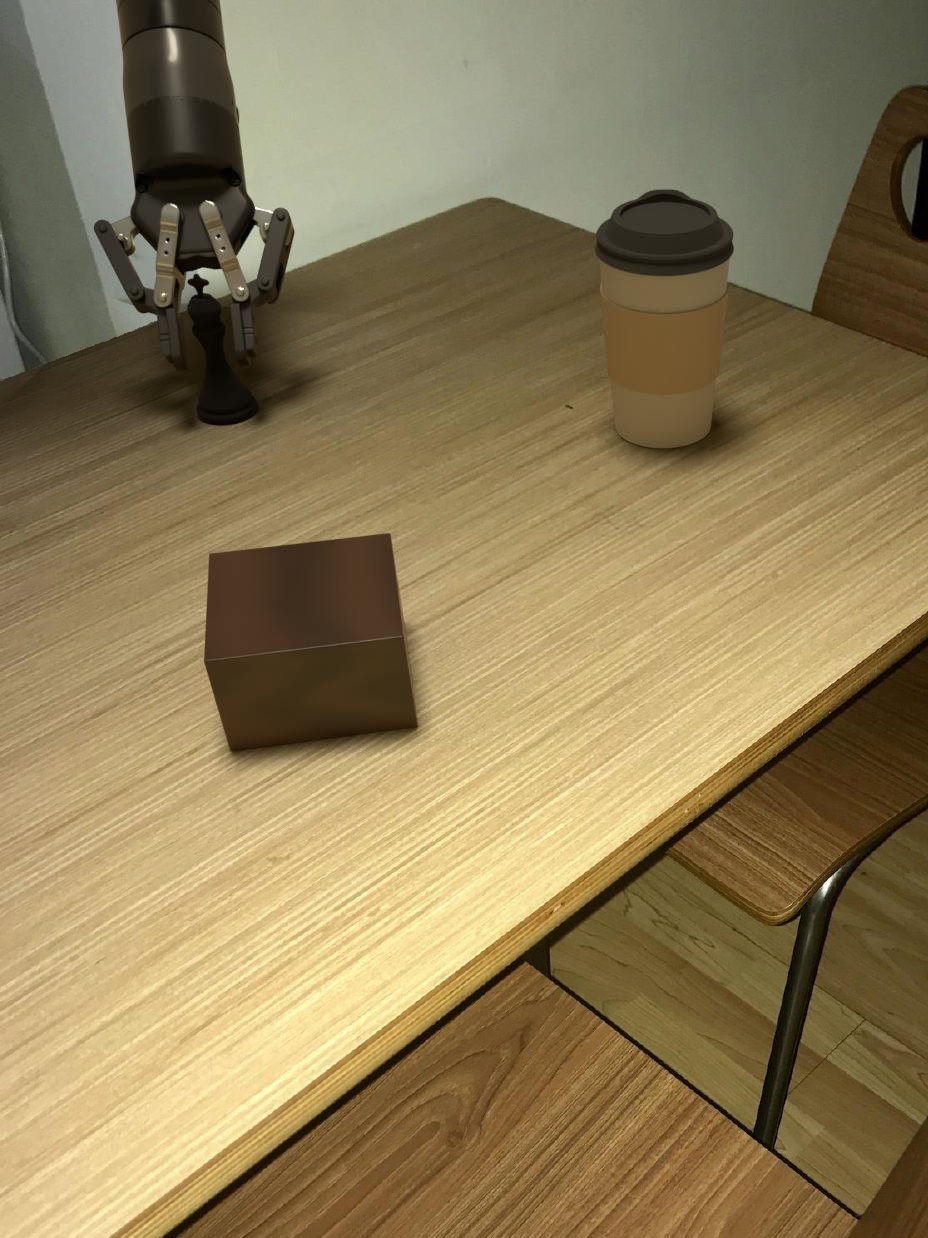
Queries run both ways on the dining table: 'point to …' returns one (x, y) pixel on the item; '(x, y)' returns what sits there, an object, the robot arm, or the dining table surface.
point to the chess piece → (217, 363)
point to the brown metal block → (307, 642)
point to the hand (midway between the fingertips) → (212, 363)
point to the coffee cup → (664, 314)
